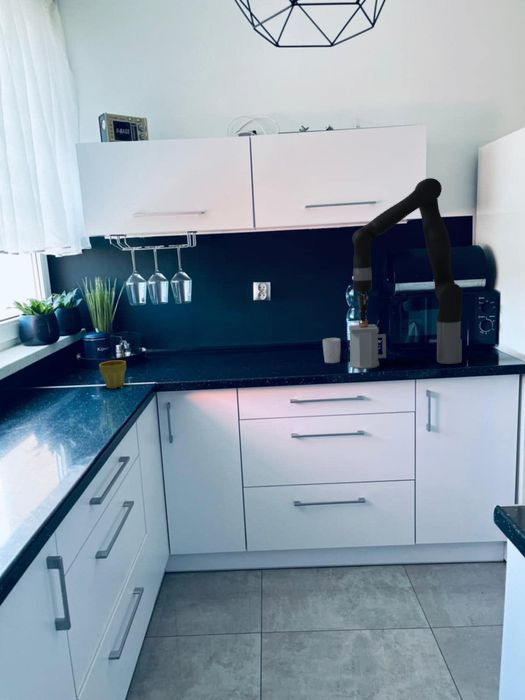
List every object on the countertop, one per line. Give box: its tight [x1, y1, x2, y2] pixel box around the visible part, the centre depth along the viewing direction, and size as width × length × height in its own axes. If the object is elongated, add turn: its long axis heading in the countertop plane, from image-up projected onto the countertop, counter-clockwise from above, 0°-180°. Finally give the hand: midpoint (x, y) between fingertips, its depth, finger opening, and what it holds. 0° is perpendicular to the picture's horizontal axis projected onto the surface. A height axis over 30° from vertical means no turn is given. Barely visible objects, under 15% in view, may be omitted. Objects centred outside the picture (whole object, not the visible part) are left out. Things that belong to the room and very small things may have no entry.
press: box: [348, 324, 387, 370], centre depth 230 cm, size 15×12×16 cm
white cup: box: [322, 337, 341, 364], centre depth 242 cm, size 8×8×10 cm
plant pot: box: [98, 359, 127, 389], centre depth 221 cm, size 10×10×10 cm
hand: (363, 320), depth 228 cm, fingers closed
